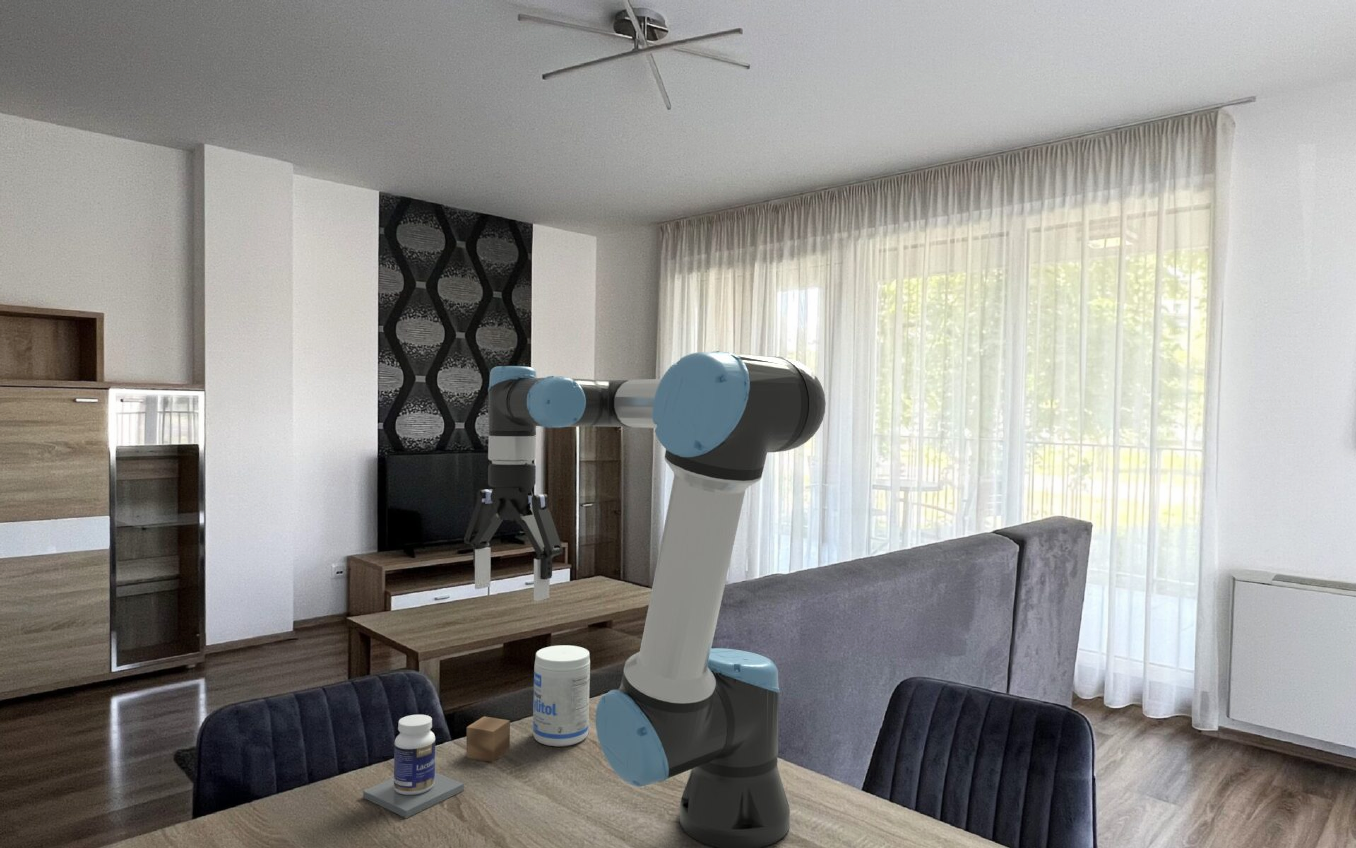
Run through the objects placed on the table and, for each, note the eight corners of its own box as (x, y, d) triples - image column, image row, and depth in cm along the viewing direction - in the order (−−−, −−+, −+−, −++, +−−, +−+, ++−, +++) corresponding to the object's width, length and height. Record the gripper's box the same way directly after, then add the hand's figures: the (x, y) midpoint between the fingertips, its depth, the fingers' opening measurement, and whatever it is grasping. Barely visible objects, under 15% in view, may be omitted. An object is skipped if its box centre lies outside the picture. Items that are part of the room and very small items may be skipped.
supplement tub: (521, 741, 137) (522, 655, 137) (554, 722, 145) (555, 641, 145) (568, 753, 133) (569, 664, 132) (599, 733, 141) (600, 649, 141)
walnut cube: (509, 750, 133) (509, 720, 133) (492, 762, 129) (493, 731, 129) (483, 746, 135) (484, 716, 135) (466, 757, 130) (466, 727, 130)
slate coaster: (463, 790, 119) (463, 784, 119) (406, 818, 111) (406, 811, 111) (420, 772, 125) (420, 766, 125) (363, 797, 116) (363, 790, 116)
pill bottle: (422, 798, 114) (422, 729, 114) (386, 794, 115) (386, 725, 115) (442, 780, 120) (442, 714, 120) (407, 776, 121) (407, 711, 121)
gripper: (586, 464, 126) (584, 600, 126) (478, 458, 140) (477, 579, 140) (552, 467, 120) (551, 609, 120) (443, 459, 134) (442, 587, 134)
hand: (511, 593), depth 130 cm, fingers open, 13 cm apart
